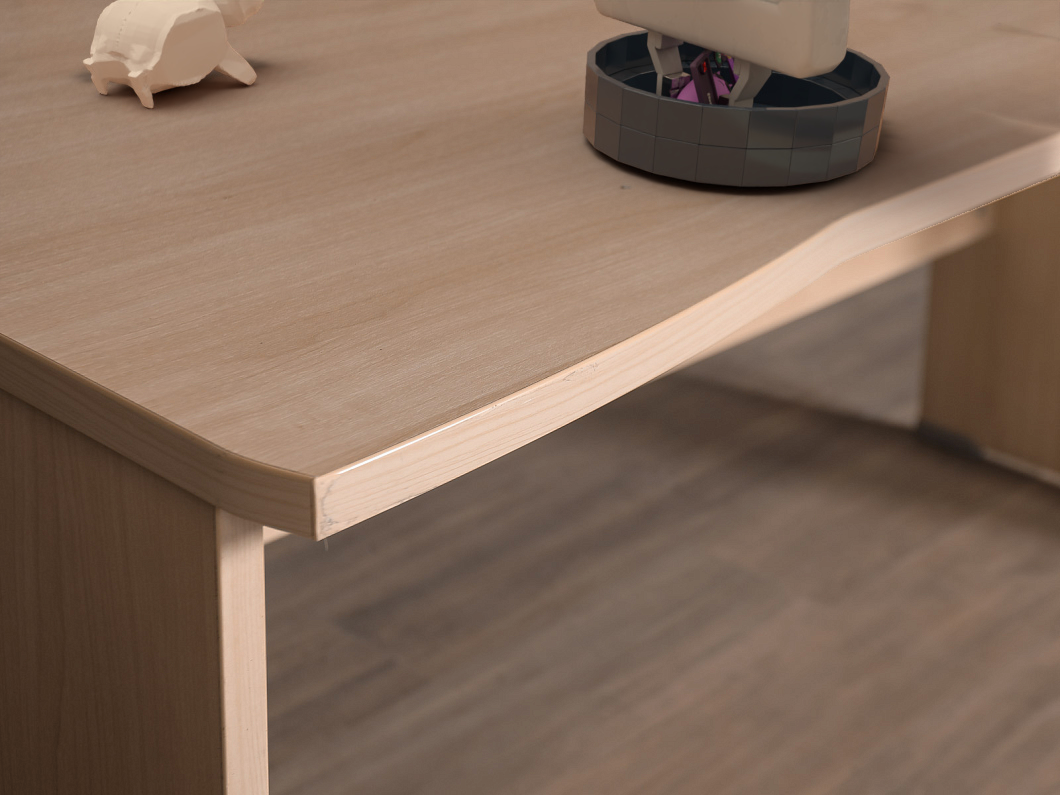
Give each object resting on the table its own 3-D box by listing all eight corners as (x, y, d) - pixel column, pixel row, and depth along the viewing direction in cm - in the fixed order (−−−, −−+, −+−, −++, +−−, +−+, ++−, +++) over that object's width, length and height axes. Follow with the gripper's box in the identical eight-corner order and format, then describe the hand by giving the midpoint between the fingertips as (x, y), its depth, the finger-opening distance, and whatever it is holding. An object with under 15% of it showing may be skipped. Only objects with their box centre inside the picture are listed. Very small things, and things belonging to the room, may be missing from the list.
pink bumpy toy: (706, 61, 77) (737, 28, 84) (629, 79, 79) (666, 45, 86) (730, 163, 79) (759, 122, 87) (655, 177, 82) (689, 137, 89)
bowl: (936, 156, 85) (952, 76, 82) (728, 220, 74) (739, 131, 71) (725, 83, 98) (733, 13, 95) (523, 128, 87) (525, 51, 84)
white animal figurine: (181, 148, 90) (309, 35, 98) (132, 49, 84) (272, -64, 91) (105, 124, 95) (233, 17, 102) (53, 28, 88) (193, -79, 95)
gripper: (891, -87, 71) (852, 145, 78) (651, -132, 85) (636, 68, 92) (818, -77, 67) (784, 164, 75) (580, -126, 81) (571, 81, 88)
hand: (701, 110), depth 83 cm, fingers closed on pink bumpy toy, 4 cm apart
